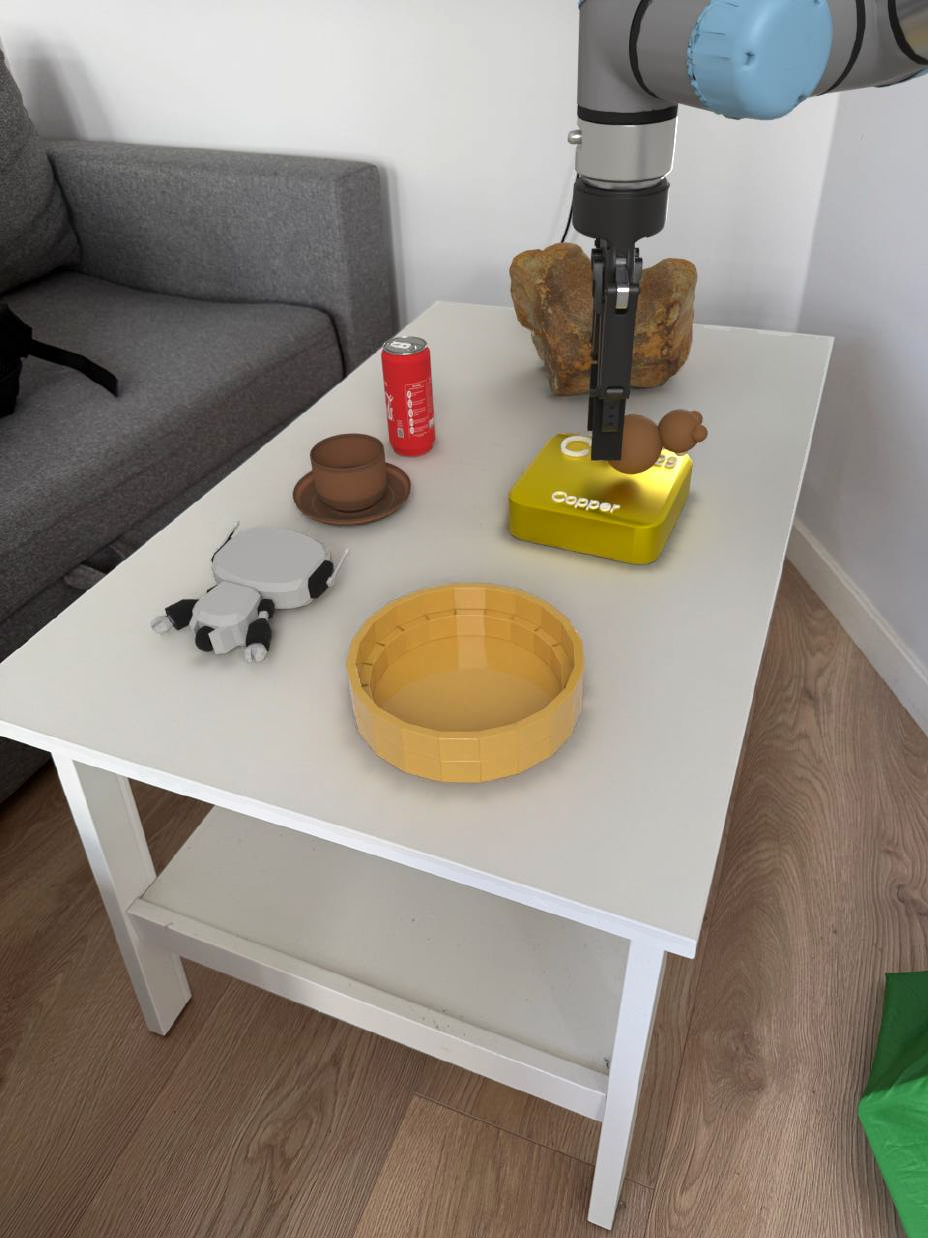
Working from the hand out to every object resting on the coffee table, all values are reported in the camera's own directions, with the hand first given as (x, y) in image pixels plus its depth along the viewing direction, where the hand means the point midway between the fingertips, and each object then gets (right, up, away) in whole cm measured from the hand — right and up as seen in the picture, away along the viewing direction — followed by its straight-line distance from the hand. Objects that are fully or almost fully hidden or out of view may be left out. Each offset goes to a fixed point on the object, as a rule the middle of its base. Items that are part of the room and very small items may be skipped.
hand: (603, 442), depth 86 cm
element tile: (0, -6, +5) cm, 8 cm away
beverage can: (-19, +3, +17) cm, 26 cm away
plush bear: (0, -1, +1) cm, 1 cm away
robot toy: (-31, -16, -6) cm, 36 cm away
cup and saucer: (-24, -5, +8) cm, 26 cm away
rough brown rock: (+3, +13, +29) cm, 32 cm away
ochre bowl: (-13, -23, -15) cm, 31 cm away
